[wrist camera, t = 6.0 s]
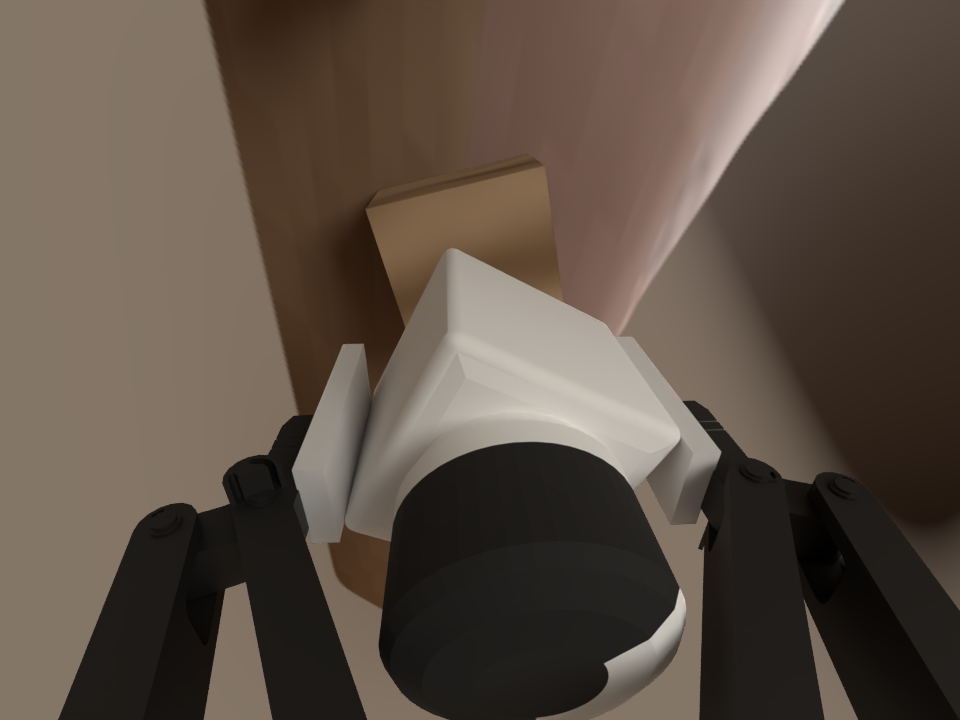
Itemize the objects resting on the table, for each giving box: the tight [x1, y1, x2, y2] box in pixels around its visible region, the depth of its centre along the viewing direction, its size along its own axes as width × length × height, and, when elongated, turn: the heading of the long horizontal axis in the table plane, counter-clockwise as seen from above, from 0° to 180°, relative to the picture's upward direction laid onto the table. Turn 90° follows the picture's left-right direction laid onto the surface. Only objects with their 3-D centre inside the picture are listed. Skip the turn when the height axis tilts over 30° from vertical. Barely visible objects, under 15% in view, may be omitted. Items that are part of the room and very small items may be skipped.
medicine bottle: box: [345, 248, 687, 720], centre depth 13 cm, size 7×7×12 cm
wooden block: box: [365, 154, 563, 328], centre depth 30 cm, size 10×10×6 cm
